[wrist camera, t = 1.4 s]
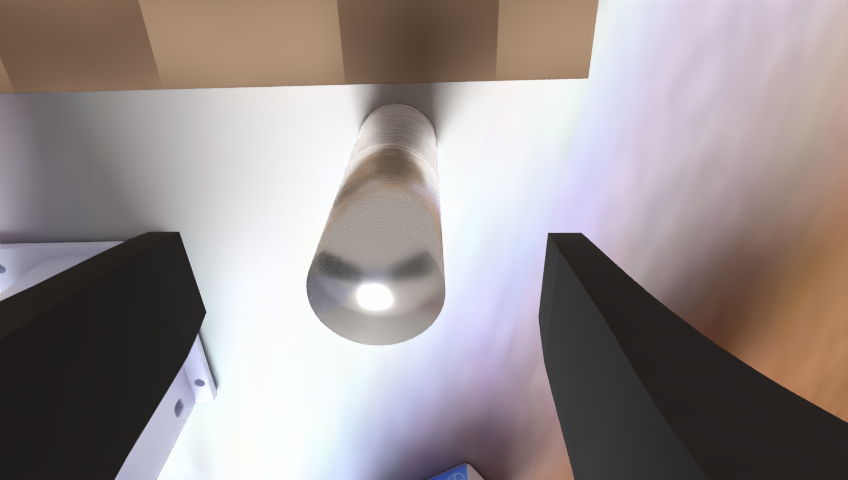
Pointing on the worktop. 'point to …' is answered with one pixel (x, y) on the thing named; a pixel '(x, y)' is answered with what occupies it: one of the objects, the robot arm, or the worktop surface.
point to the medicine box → (458, 473)
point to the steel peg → (383, 235)
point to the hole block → (287, 42)
